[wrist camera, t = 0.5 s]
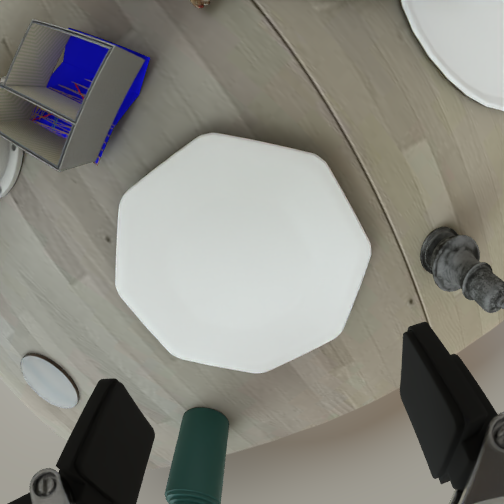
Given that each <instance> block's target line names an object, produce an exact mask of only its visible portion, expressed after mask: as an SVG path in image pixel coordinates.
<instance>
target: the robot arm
mask: <svg viewBox="0 0 504 504" xmlns="http://www.w3.org/2000/svg"><path fill="white" fill-rule="evenodd" d="M5 78H6V76H3V77H2V79H1V81H0V82H4V81H5ZM22 158H23V150H22V149H20V148H19V147H17V146H15V145H14V144H12V143H11V142H9V141H7V140H6V139H4V138H3V137H1V136H0V198H2V197H4V196H5V195H6V194H7V193H8V192H9V191H10V190H11V188H12V187H13V185H14V184H15V182H16V179H17V177H18V175H19V171H20V168H21V164H22ZM400 395H401V399H402V402H403V404H404V406H405V409H406V411H407V413H408V415H409V418H410V421H411V423H412V425H413V428H414V430H415V433H416V435H417V438H418V440H419V443H420V445H421V448H422V450H423V453H424V455H425V458H426V460H427V463H428V466H429V469H430V471H431V474H432V476H433V478H435V479H436V478H439V480H440V483H441V484H443V483H445V482H448V481H451V484H452V486H453V488H454V489H455V491H454V494H453V496H452V498H451V500H450V503H449V504H504V412H502V413H500V414H499V415H498V414H497V413H496V411H495V410H494V408H493V406H492V405H491V403H490V402H489V400H488V399H487V397H486V395H485V394H484V392H483V391H482V389H481V388H480V386H479V385H478V383H477V382H476V380H475V379H474V377H473V376H472V375H471V373H470V372H469V370H468V369H467V367H466V366H465V364H464V363H463V361H462V360H461V359H460V358H459V356H458V355H456V354H452V355H450V354H449V352H448V351H447V350H446V348H445V347H444V345H443V344H442V342H441V341H440V340H439V338H438V337H437V335H436V334H435V333H434V331H433V330H432V329H431V327H430V326H429V324H428V323H427V322H422V323H419V324H416V325H413V326H410V327H409V328H408V332H405V333H404V334H403V351H402V369H401V383H400ZM154 438H155V433H154V430H153V428H152V427H151V425H150V424H149V422H148V421H147V420H146V418H145V417H144V415H143V414H142V412H141V411H140V410H139V408H138V407H137V405H136V404H135V402H134V401H133V399H132V398H131V396H130V395H129V393H128V391H127V390H126V388H125V387H124V385H123V384H122V383H121V382H119V381H118V380H117V379H101V380H100V381H99V382H98V384H97V385H96V387H95V389H94V391H93V393H92V395H91V397H90V398H89V400H88V402H87V404H86V406H85V408H84V410H83V412H82V414H81V416H80V418H79V420H78V421H77V423H76V425H75V427H74V429H73V431H72V433H71V435H70V437H69V439H68V441H67V443H66V446H65V448H64V450H63V452H62V454H61V456H60V458H59V460H58V462H57V464H56V466H57V467H58V468H59V469H60V470H59V472H57V471H56V470H54V469H51V468H46V469H42V470H40V471H39V472H37V473H36V474H35V475H34V476H33V478H32V480H31V483H30V493H28V494H26V495H24V496H22V497H20V498H18V499H16V500H14V501H12V502H10V503H8V504H136V502H137V498H138V494H139V491H140V487H141V484H142V480H143V476H144V473H145V469H146V466H147V462H148V459H149V455H150V452H151V448H152V445H153V441H154Z"/></svg>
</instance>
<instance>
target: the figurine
mask: <svg viewBox="0 0 504 504" xmlns="http://www.w3.org/2000/svg"><path fill="white" fill-rule="evenodd" d="M190 1H191V3H192V4H193V5H194V6H195V7H198V8H203V7H204V5H208V4H210V0H190Z"/></svg>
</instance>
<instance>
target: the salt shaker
mask: <svg viewBox="0 0 504 504" xmlns="http://www.w3.org/2000/svg"><path fill="white" fill-rule="evenodd" d="M420 257H421V263H422V265H423V267H424V268H425V270H426V271H428V272H429V273H431V274H433V278H434V281H435V283H436V284H437V286H438V287H439V288H441V289H442V290H444V291H449V292H450V291H456V290H458V289H462V291H463V295H464V296H465V298H467V299H469V300H475V301H476V302H477V303H478V304H479V305H480V306H481V307H482V308H483V309H484V310H485V311H486V312H489V313H493V312H496V311H498V310H499V309H501V308H502V309H504V282H503V281H502V280H501V279H500V278H498V277H497V276H496V275H495V274H493V272H492V268H491V266H490V265H489V264H487V263H485V262H479V260H480V252H479V248H478V245H477V244H476V242H475V241H474V240H473V239H472V238H471V237H469V236H466V235H458V234H457V233H456V232H455V231H454V230H453V229H451V228H448V227H441V228H438V229H436V230H434V231H433V232H431V233H430V234H429V235H428V236H427V238H426V239H425V241H424V243H423V245H422V248H421V254H420Z"/></svg>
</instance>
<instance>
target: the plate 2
mask: <svg viewBox="0 0 504 504" xmlns="http://www.w3.org/2000/svg"><path fill="white" fill-rule="evenodd" d="M400 1H401V6H402V9H403V11H404V13H405V15H406V18H407V20H408V22H409V25H410V27H411V30H412V32H413V33H414V35H415V37H416V38H417V40H418V41H419V43H420V44H421V46H422V48H423V49H424V51H425V53H426V54H427V56H428V57H429V58H430V60H431V61H432V62H433V63H434V64H435V65H436V67H437V68H438V69H439V70H440V71H441V73H442V74H443V75H444V76H445V77H446V79H448V80H449V81H450V82H451V83H452V84H453V85H455V86H456V87H457V88H458V89H459V90H460V91H461V92H463V93H464V94H465V95H466V96H468V97H469V98H471V99H473V100H475V101H477V102H478V103H480V104H482V105H483V106H486V107H490V108H494V109H498V110H502V111H504V0H400Z"/></svg>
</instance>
